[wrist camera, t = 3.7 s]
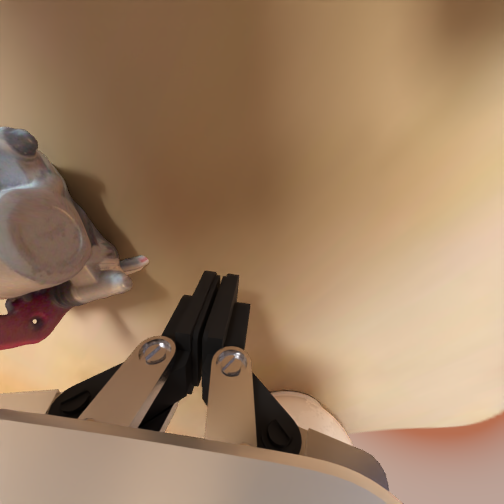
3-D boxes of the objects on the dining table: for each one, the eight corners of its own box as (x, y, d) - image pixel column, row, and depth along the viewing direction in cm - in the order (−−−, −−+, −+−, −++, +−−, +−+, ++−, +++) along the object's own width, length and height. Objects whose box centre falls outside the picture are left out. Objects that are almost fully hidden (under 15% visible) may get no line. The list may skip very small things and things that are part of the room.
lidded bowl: (220, 370, 23) (181, 552, 13) (359, 375, 22) (426, 580, 12) (233, 438, 29) (213, 596, 20) (343, 444, 28) (379, 618, 18)
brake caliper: (-150, 168, 13) (-819, 164, 4) (71, 118, 17) (42, 54, 8) (3, 320, 18) (-100, 488, 9) (145, 254, 23) (184, 318, 13)
